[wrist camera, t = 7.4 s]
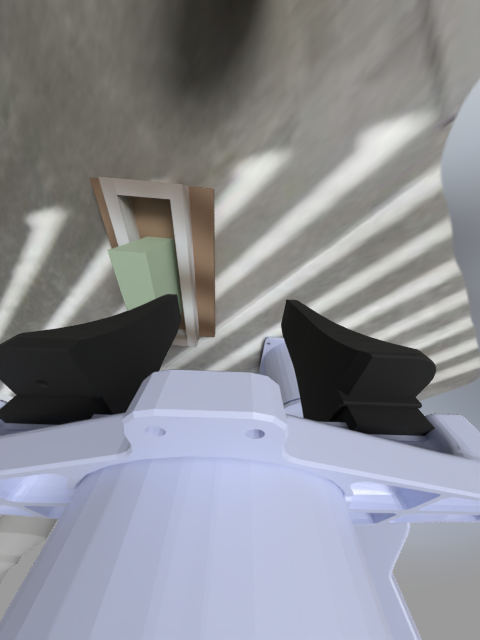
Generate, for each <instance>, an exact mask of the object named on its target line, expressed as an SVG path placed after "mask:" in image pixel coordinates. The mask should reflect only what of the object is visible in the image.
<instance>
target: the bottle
mask: <svg viewBox="0 0 480 640" xmlns="http://www.w3.org/2000/svg"><path fill="white" fill-rule="evenodd" d="M56 521H57V519H49V518H37V517H24V516H12V515H2V516H1V517H0V582H1V581H2V579H3V578H4V576H5V575H6V573H7V571H8V570H9V569H10V568H11V567H12V566H14V565H15V564H17V563H18V561H19V559H20V558H21V556H23V555H24V554H25V553H27V552H28V551H30V550H31V549H32V548H34V547H35V546H37V545H38V544H39V543H41V542H42V541H44V540H45V539H46V538H47V537H48V535H49V533H50V531H51V530H52V528H53V526H54V524H55V522H56Z"/></svg>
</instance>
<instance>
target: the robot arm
mask: <svg viewBox="0 0 480 640" xmlns="http://www.w3.org/2000/svg"><path fill="white" fill-rule="evenodd" d="M180 324H181V315H180V308H179V302H178V296H177V294H166V295H163V296H161V297H158V298H156V299H154V300H152V301H150V302H147V303H145V304H143V305H141V306H138V307H136V308H134V309H131V310H129V311H126V312H123V313H121V314H118V315H114V316H111V317H108V318H104V319H100V320H97V321H93V322H89V323H84V324H79V325H75V326H69V327H63V328H57V329H50V330H43V331H35V332H27V333H21V334H18V335H16V336H14V337H12V338H11V339H9V340H7V341H5V342H4V343H2V344H0V380H1V381H2V382H3V383H4V384H5V385H6V386H8V387H9V388H10V389H11V390H12V391H13V392H14V393H15V394H16V396H15V397H14V398H13V399H11V400H10V401H9V402H6V401H3V400H0V515H12V516H24V517H37V518H49V519H59V521H58V523H57V524H56V526H55V528H54V529H53V531H52V533H51V535H50V536H49V538H48V540H47V542H46V543H45V545H44V547H43V548H42V550H41V552H40V554H39V556H38V557H37V559H36V561H35V562H34V564H33V566H32V567H31V569H30V571H29V573H28V574H27V576H26V578H25V580H24V581H23V583H22V585H21V586H20V588H19V590H18V592H17V593H16V595H15V597H14V599H13V600H12V602H11V604H10V606H9V607H8V609H7V611H6V612H5V614H4V616H3V617H2V619H1V621H0V640H422V639H421V637H420V635H419V632H418V630H417V628H416V625H415V623H414V621H413V618H412V616H411V614H410V612H409V609H408V607H407V604H406V602H405V600H404V598H403V595H402V593H401V591H400V588H399V586H398V584H397V581H396V579H395V577H394V574H393V572H392V571H393V568H394V565H395V562H396V560H397V558H398V556H399V554H400V551H401V549H402V547H403V545H404V543H405V540H406V538H407V536H408V533H409V530H410V524H409V523H428V522H480V432H479V431H478V430H477V429H476V428H475V427H474V426H473V425H471V424H470V422H468V421H467V420H466V419H465V418H464V417H463V416H462V415H458V414H430V415H427V416H424V415H423V414H422V413H421V412H420V410H419V409H418V408H421V407H422V404H421V403H420V402H419V401H418V400H417V398H416V396H417V395H418V394H419V393H420V392H421V391H422V390H423V389H424V388H425V387H426V386H427V385H428V384H429V383H430V382H431V380H432V379H433V378H434V375H435V373H436V365H435V364H434V363H433V361H432V360H431V359H429V358H428V357H427V356H426V355H424V354H423V353H422V352H421V351H419V350H417V349H413V348H409V347H405V346H401V345H396V344H392V343H388V342H385V341H381V340H378V339H375V338H371V337H368V336H365V335H363V334H360V333H357V332H354V331H352V330H349V329H347V328H345V327H343V326H340V325H338V324H336V323H334V322H332V321H330V320H328V319H327V318H325V317H323V316H321V315H320V314H318V313H316V312H315V311H313V310H312V309H310V308H309V307H307V306H305V305H304V304H302V303H301V302H299V301H297V300H286V305H285V309H284V314H283V319H282V323H281V327H282V333H283V338H279V337H267V338H266V339H265V342H264V348H263V353H262V358H261V363H260V368H259V373H258V374H256V373H251V372H229V371H203V370H177V369H172V370H165V371H159V370H160V367H161V365H162V362H163V360H164V358H165V356H166V354H167V352H168V350H169V348H170V347H171V345H172V343H173V341H174V339H175V337H176V335H177V333H178V330H179V327H180ZM267 343H269V344H267Z"/></svg>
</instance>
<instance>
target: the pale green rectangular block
mask: <svg viewBox="0 0 480 640" xmlns="http://www.w3.org/2000/svg"><path fill="white" fill-rule="evenodd" d="M108 253H109V256H110V259H111V262H112V265H113V268H114V272H115V275H116V278H117V281H118V284H119V287H120V290H121V293H122V296H123V299H124V302H125V305H126V308H127V311H129V310H131V309H134V308H136V307H138V306H141V305H143V304H145V303H147V302H150V301H152V300H154V299H156V298H158V297H161V296H163V295H166V294H177V296H178V302H179V308H180V315H181V313H182V311H183V308H182V300H181V292H180V284H179V276H178V268H177V259H176V251H175V243H174V239H173V238H160V237H144V238H142V239H139V240H136V241H133V242H130V243H127V244H124V245H121V246H118V247H116V248H113V249H110V250H108Z"/></svg>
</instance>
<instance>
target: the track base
mask: <svg viewBox="0 0 480 640" xmlns="http://www.w3.org/2000/svg"><path fill="white" fill-rule="evenodd" d="M90 180H91V183H92V187H93V190H94V193H95V196H96V199H97V203H98V206H99V209H100V212H101V215H102V219H103V222H104V225H105V228H106V231H107V235H108V238H109V241H110V244H111V247H112V249H113V248H116V247H118V246H121V245H124V244H127V243H130V242H133V241H136V240H139V239H142V238H144V237H160V238H173V239H174V243H175V251H176V259H177V268H178V276H179V284H180V292H181V300H182V308H183V311H182V313H181V324H180V327H179V330H178V333H177V335H176V337H175V339H174V341H173V343H172V345H177V346H195V347H196V346H197V342H198V339H199V336H201V337H215V236H214V189H212V188H201V187H190V186H186V185H183V184H175V183H164V182H152V181H141V180H130V179H118V178H107V177H99V178H90Z"/></svg>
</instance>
